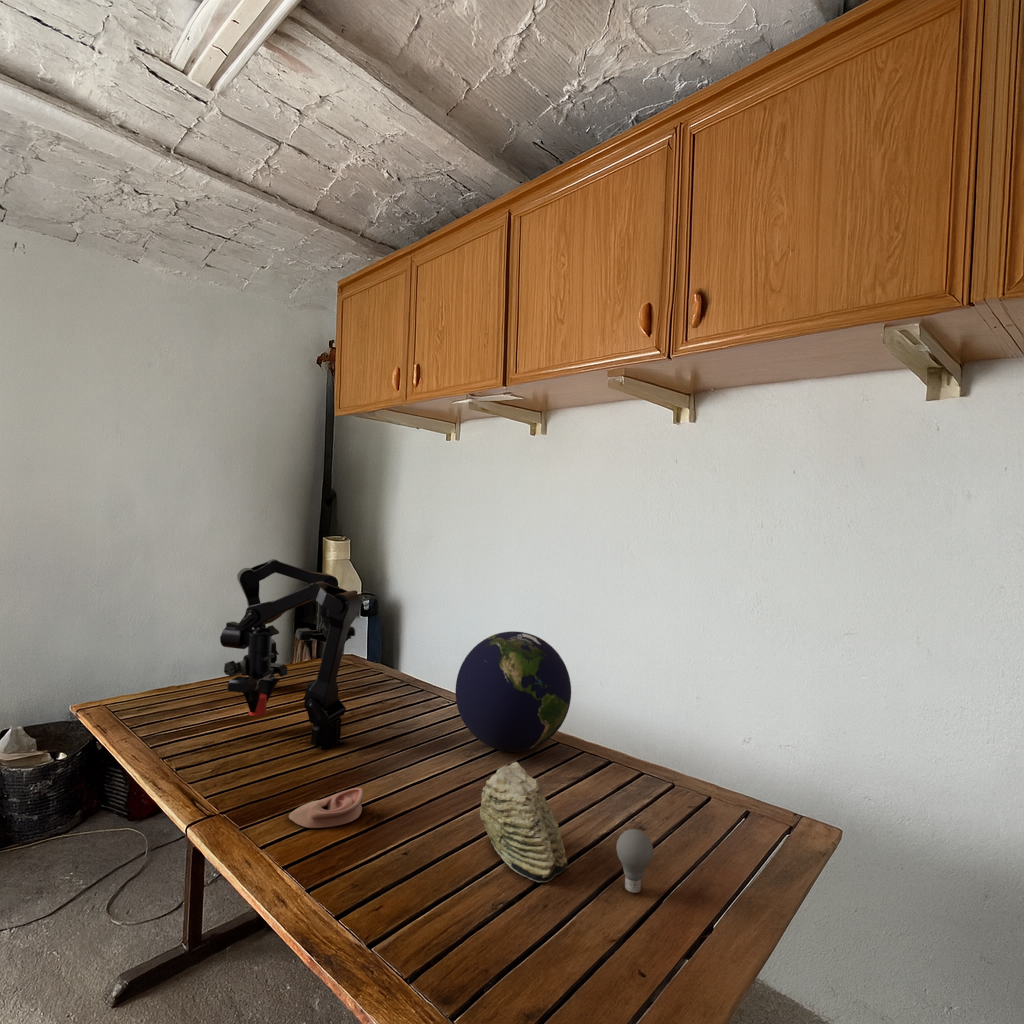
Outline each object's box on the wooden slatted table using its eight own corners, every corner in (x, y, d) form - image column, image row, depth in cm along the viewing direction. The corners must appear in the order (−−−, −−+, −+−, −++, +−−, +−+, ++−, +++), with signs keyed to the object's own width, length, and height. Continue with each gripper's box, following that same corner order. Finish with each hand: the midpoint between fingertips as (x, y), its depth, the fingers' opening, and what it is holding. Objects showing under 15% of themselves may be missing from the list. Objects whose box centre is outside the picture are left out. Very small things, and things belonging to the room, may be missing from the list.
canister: (254, 717, 165) (255, 699, 165) (245, 713, 167) (246, 696, 167) (269, 713, 168) (270, 696, 168) (260, 709, 171) (260, 692, 171)
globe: (499, 719, 185) (504, 617, 185) (589, 746, 168) (594, 633, 167) (428, 749, 161) (433, 631, 160) (525, 784, 144) (531, 652, 143)
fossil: (501, 827, 124) (504, 751, 124) (575, 868, 111) (578, 784, 111) (467, 843, 118) (470, 763, 118) (541, 889, 105) (545, 799, 105)
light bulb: (610, 879, 108) (613, 822, 108) (644, 879, 109) (647, 822, 109) (619, 902, 102) (622, 840, 102) (655, 901, 103) (658, 840, 103)
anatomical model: (280, 803, 122) (311, 778, 133) (279, 823, 122) (310, 796, 133) (344, 813, 119) (370, 786, 130) (343, 834, 119) (369, 805, 130)
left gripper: (305, 617, 201) (303, 666, 202) (361, 614, 212) (359, 660, 212) (296, 611, 211) (294, 658, 211) (350, 608, 221) (349, 653, 221)
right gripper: (253, 640, 178) (251, 696, 178) (209, 656, 160) (207, 717, 160) (289, 644, 176) (287, 700, 176) (248, 660, 158) (246, 722, 158)
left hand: (325, 657), depth 214 cm, fingers open, 9 cm apart
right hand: (257, 709), depth 168 cm, fingers closed on canister, 4 cm apart
